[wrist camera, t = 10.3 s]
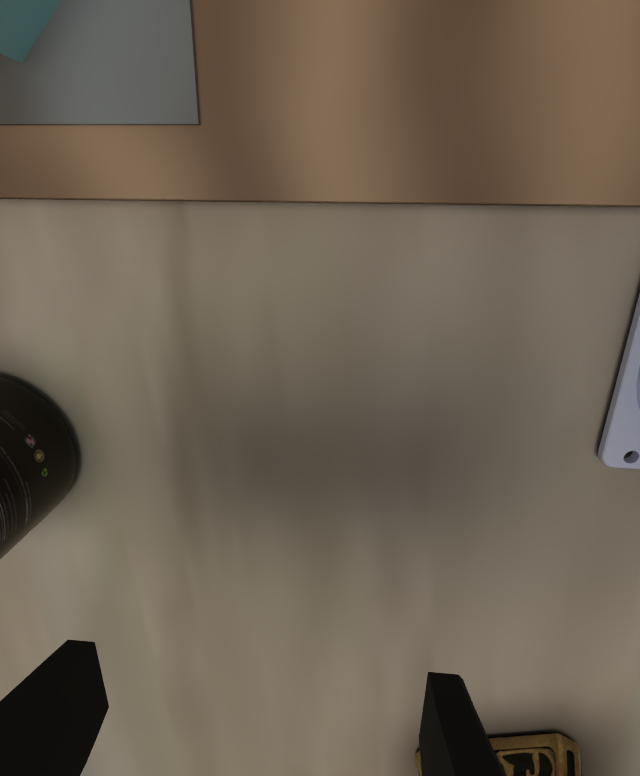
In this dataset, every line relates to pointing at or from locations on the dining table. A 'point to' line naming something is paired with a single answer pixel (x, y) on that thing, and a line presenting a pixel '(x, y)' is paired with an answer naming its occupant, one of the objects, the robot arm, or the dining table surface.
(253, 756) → the dining table surface
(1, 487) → the supplement bottle
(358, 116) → the board
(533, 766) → the ornate bronze statue
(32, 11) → the teal cube crate
